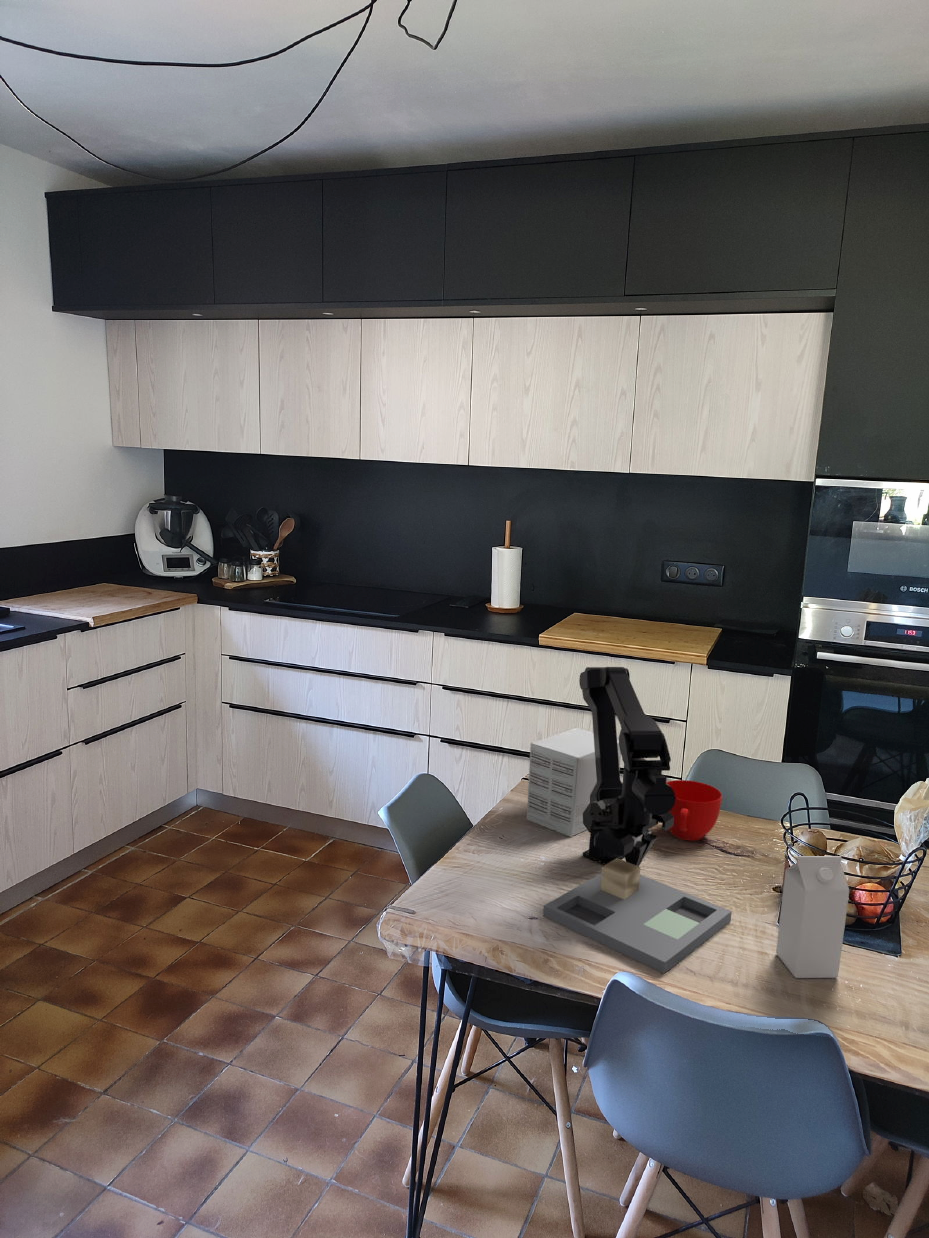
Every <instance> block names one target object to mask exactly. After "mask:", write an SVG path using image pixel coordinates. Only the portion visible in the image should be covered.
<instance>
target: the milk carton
mask: <svg viewBox="0 0 929 1238" xmlns="http://www.w3.org/2000/svg"><path fill="white" fill-rule="evenodd" d="M841 862H842V856H841V855H839V856H838V855H835V856H834V855H832V856H831V855H824V856H819V855H817V856H798V859H797V863H796V864H794V865H792V866H791V867H789V868H788V869H786V871H785V880H784V888H783V892H782V896H781V897H782V898H781V899H782V900H781V907H780V916H779V924H778V932H777V939H776V940H777V941H776V947H775V948H776V950H775V954H776V955H777V956H778V957H779V959H780V960H781V961H782V962H783V963H784V965H785V966H786V968H787V969H788V970H789V971H790V973H791V974H792V976H793V977H794V978H795V979H826V978H827V979H828V978H829V979H830V978H831V979H834V978H838V977H839V974H840V973H839V971H840V964H841V957H842V949H843V942H844V934H845V933H844V932H845V926H846V920H847V919H846V918H847V911H848V904H849V896H850V895H849V894H850V888H849V885H848V881H847V879H846V876H845V872H844V868H843V866H842V863H841Z"/></svg>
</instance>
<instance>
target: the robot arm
mask: <svg viewBox="0 0 929 1238" xmlns="http://www.w3.org/2000/svg"><path fill="white" fill-rule="evenodd" d="M630 675H631V674H630V671H629V669H628V667H624V666H606V667H605V666H604V667H603V666H600V667H599V666H598V667H596V666H591V667H590V666H586V668H585V669H584V671H581V672H580V675H579V682H578V683H579V688H580V689H581V692H582V699H583V701H584V702H585V703H586V705H587V706H588V707H589V709H590V711H591V716H592V717H591V718H592V731H593V734H594V749H595V763H596V777H597V783H596V785H595V786H594V788H593V790H592V792H591V794H590V803H589V805H588V806H587V808H586V809H585V811H584V812H583V824H584V826H585V827H586V829H587V830H586V831H588V833H590V834H589V844H588V849H587V850H584V851H583V852H582V856H583V857H585V858H588V859H591V860H593V861H595V862H599V863H600V864H602V865H606V864H608V863H610V862H611V861H613V860H615V859H616V858H618V859H621V860H622V859H624V861H626V862H628V863H631V864H634V865H636V866H639V867H640V865H641V864H642V862H643V860H644V858H645V857H646V855H647V854H648V853H649V851H650V849H651V848H652V846H653V844H654V843H655V842H656V841H657V840H658V836H657V835H656V834H653V833H652V830H651V829H652V828H654V827H655V826H657V825H659V823H660V824H661V827H662V829H663V830H664V831H668V830H669V829H670V828H671V827H673V823H674V817H673V815H672V814H671V812H670V810H671V809H672V808H673V806H674V804H675V801H676V796H675V792H674V791H673V789H672V788H671V787H670V786H669V785H668V784H667V783H666V782H667V777H666V775H664V774H663V771H664V772H665V771H666V772H667V771H668V772H669V771H671V766H670V763H671V761H672V758H671V754H670V751H669V748H668V743H667V740H666V738H665V734H664V733H663V731H662V730H661V728H660V727H659V725H658V722H657V721H655V719H653V718H652V717H650V716H648V715H647V714H646V713H645V712H644V710H643V708H642V705H641V702H640V701H639V698H638V696H637V693H636V691H635V689H634V686H633V684H632V682H631V680H630ZM616 717H617V719H618V722H619V724H620V732H619V736H618V735H617V734H618V733H617V722H616ZM617 740H619V748H620V752H621V760H622V762H623V773H622V775H623V776H622V781H621V775H620V771H621V770H620V771H619V758H618V745H617ZM658 758H659V759H658ZM648 759H649V760H648ZM650 759H651V760H650Z"/></svg>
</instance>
